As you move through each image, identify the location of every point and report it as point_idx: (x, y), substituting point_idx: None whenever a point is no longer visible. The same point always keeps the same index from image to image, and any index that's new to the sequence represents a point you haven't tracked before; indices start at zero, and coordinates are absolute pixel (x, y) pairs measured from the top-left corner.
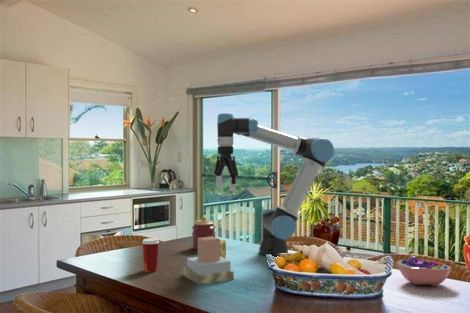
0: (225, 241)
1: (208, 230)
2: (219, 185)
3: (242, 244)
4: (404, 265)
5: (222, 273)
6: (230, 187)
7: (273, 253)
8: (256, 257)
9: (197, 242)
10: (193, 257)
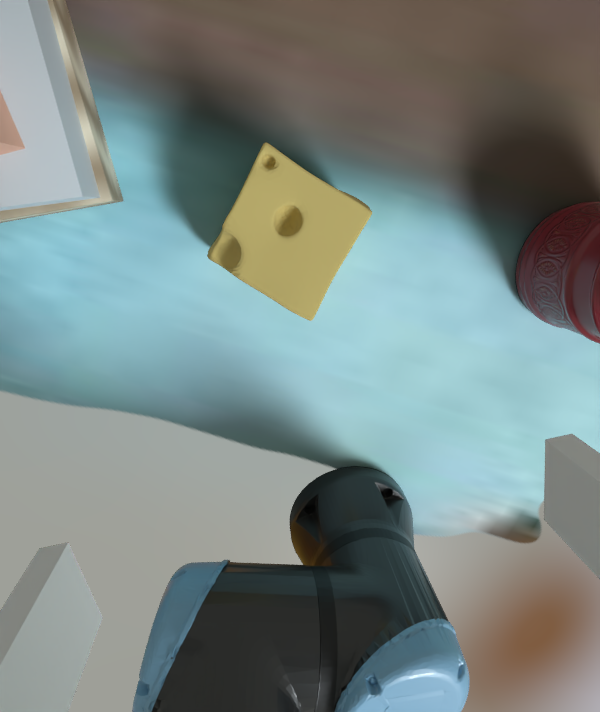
0: (306, 318)
1: (590, 294)
2: (592, 520)
3: None
4: None
5: None
6: (2, 608)
7: (295, 508)
8: (302, 436)
9: (570, 221)
10: (30, 23)
